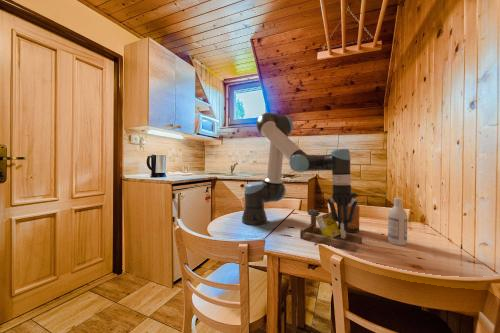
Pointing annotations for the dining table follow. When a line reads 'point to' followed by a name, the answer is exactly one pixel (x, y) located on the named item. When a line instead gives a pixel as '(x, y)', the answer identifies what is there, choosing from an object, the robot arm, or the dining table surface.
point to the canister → (354, 224)
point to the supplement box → (328, 225)
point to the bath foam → (397, 224)
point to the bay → (307, 235)
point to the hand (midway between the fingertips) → (343, 237)
